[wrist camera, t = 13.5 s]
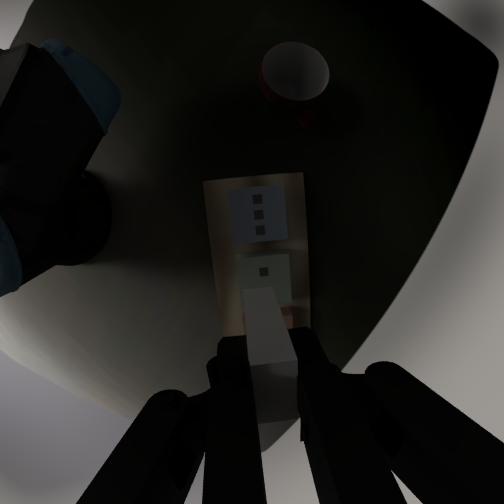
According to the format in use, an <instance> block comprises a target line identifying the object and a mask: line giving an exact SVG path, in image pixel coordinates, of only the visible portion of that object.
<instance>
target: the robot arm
mask: <svg viewBox="0 0 504 504" xmlns="http://www.w3.org/2000/svg"><path fill="white" fill-rule="evenodd" d="M120 104H121V94H120V91H119V89H118V88H117V86H116V85H115V84H114V82H113V81H112V80H111V79H110V78H109V77H108V76H107V75H106V74H105V73H104V72H103V71H102V70H100V69H99V68H98V67H97V66H96V65H95V64H93V63H92V62H91V61H90V60H88V59H87V58H86V57H84V56H83V55H82V54H80V53H79V52H77V51H74V50H73V49H72V48H70V47H69V46H68V45H66V44H65V43H63V42H61V41H59V40H57V39H54V38H50V39H47V40H46V41H45V42H43V43H42V44H41V45H40V48H37V47H35V46H34V45H32V44H30V43H27V42H25V43H23V44H20V45H18V46H15V47H13V48H10V49H6V50H2V49H0V297H2V296H4V295H6V294H8V293H10V292H15V291H17V290H18V289H19V287H20V286H22V285H23V284H25V283H27V282H28V281H30V280H32V279H33V278H35V277H37V276H38V275H40V274H42V273H43V272H45V271H47V270H49V269H50V268H52V267H54V266H55V265H64V266H74V265H79V264H82V263H84V262H86V261H88V260H90V259H91V258H93V257H94V256H96V255H97V254H98V253H99V252H100V251H101V249H102V248H103V247H104V245H105V243H106V241H107V239H108V237H109V234H110V230H111V224H112V211H111V205H110V201H109V197H108V195H107V193H106V190H105V189H104V187H103V185H102V184H101V183H100V181H99V180H98V179H97V178H96V177H95V176H93V175H92V174H90V173H89V172H87V171H84V170H85V168H86V166H87V164H88V163H89V161H90V159H91V157H92V155H93V153H94V152H95V150H96V148H97V146H98V144H99V143H100V141H101V139H102V138H103V136H106V134H107V132H108V130H107V128H108V127H109V125H110V123H111V121H112V119H113V118H114V116H115V114H116V113H117V111H118V109H119V107H120ZM243 298H244V311H245V324H246V335H238V336H228V337H223V338H222V339H221V340H220V342H219V343H218V348H217V356H215V357H213V358H212V359H211V360H209V361H208V363H207V365H206V368H207V373H208V377H209V382H210V386H211V387H210V389H208V390H207V391H205V392H204V393H201V394H198V395H195V396H191V397H187V395H186V394H184V393H183V392H182V391H179V390H170V389H168V390H163V391H160V392H158V393H156V394H154V395H153V396H152V397H151V398H150V399H149V400H148V401H147V403H146V404H145V406H144V407H143V408H142V410H141V411H140V413H139V414H138V416H137V417H136V418H135V420H134V421H133V423H132V424H131V426H130V427H129V428H128V430H127V431H126V433H125V434H124V436H123V437H122V438H121V440H120V441H119V443H118V444H117V446H116V447H115V449H114V450H113V451H112V453H111V454H110V456H109V457H108V459H107V460H106V462H105V463H104V464H103V466H102V467H101V469H100V470H99V471H98V473H97V474H96V476H95V477H94V479H93V480H92V482H91V483H90V484H89V486H88V487H87V489H86V490H85V491H84V493H83V494H82V496H81V497H80V499H79V500H78V501H77V503H76V504H184V502H185V500H186V497H187V495H188V492H189V490H190V488H191V485H192V483H193V481H194V478H195V476H196V473H197V471H198V468H199V466H200V464H201V461H202V459H203V456H204V452H205V465H204V479H203V496H202V504H267V500H266V492H265V483H264V475H263V467H262V458H261V449H260V440H259V431H258V424H260V423H269V422H277V421H284V420H291V419H297V418H298V411H299V415H300V419H301V429H300V430H301V431H300V432H301V433H300V437H301V438H300V441H303V440H304V444H305V448H306V452H307V456H308V460H309V464H310V468H311V472H312V475H313V479H314V484H315V487H316V491H317V495H318V499H319V503H320V504H407V502H406V500H405V498H404V496H403V494H402V492H401V490H400V487H399V485H398V483H397V481H396V479H395V477H394V475H393V473H392V472H391V470H392V471H393V472H394V473H395V474H396V476H397V477H398V478H399V479H400V480H401V481H402V482H403V483H404V484H405V485H406V486H407V487H408V488H409V490H411V492H412V493H413V494H414V495H415V496H416V497H417V498H418V499H419V500H420V501H421V502H422V503H423V504H504V443H503V442H502V441H500V440H499V439H498V438H496V437H495V436H493V435H492V434H491V433H490V432H488V431H487V430H485V429H484V428H483V427H481V426H480V425H479V424H477V423H476V422H474V421H473V420H472V419H471V418H469V417H468V416H467V415H465V414H464V413H463V412H461V411H460V410H459V409H457V408H456V407H454V406H453V405H452V404H450V403H449V402H448V401H446V400H445V399H444V398H442V397H441V396H440V395H438V394H437V393H435V392H434V391H433V390H431V389H430V388H429V387H428V386H426V385H425V384H424V383H422V382H421V381H419V380H418V379H417V378H415V377H414V376H413V375H411V374H410V373H409V372H407V371H406V370H405V369H403V368H402V367H401V366H399V365H397V364H395V363H393V362H388V361H380V362H376V363H373V364H371V365H369V366H368V367H367V369H366V370H365V374H347V373H342V372H341V370H340V369H339V368H338V367H337V366H336V365H334V364H332V363H330V362H329V360H328V358H327V356H326V354H325V352H324V350H323V348H322V346H321V345H320V342H319V340H318V339H317V336H316V334H315V332H314V331H313V330H311V329H310V328H308V327H307V326H306V327H298V328H291V329H287V327H286V324H285V321H284V319H283V316H282V313H281V310H280V307H279V304H278V301H277V298H276V295H275V293H274V290H273V287H263V288H254V289H244V290H243Z"/></svg>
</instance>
